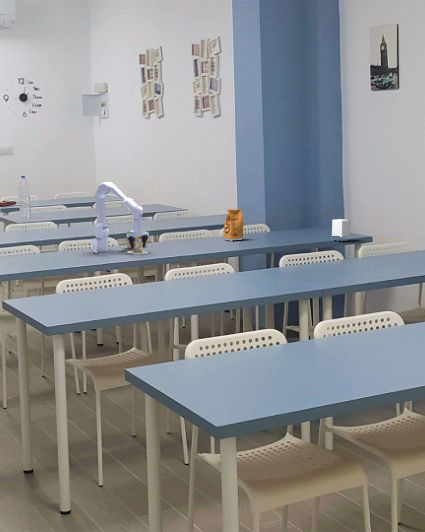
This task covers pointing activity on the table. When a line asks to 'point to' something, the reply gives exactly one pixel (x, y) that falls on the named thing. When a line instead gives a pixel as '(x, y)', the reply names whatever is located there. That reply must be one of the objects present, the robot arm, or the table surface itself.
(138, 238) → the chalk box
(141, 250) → the beech block
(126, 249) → the rail plate
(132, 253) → the parts tray
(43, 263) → the table surface
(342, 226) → the supplement box
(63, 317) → the table surface
